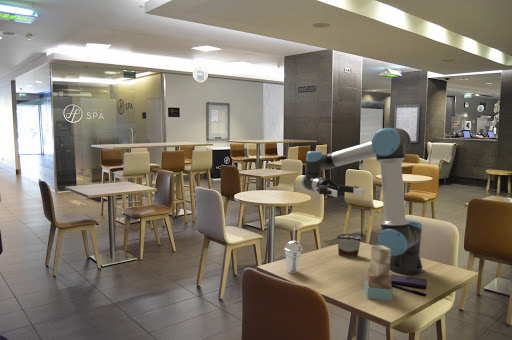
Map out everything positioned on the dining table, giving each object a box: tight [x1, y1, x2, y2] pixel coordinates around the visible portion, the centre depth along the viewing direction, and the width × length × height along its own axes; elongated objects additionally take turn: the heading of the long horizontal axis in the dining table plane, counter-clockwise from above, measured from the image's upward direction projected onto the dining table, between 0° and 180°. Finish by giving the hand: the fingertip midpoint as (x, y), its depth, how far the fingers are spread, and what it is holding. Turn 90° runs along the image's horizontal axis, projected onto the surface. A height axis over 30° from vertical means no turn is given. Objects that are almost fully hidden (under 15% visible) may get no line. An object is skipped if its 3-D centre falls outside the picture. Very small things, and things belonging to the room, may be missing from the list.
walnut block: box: [366, 267, 393, 289], centre depth 154 cm, size 8×8×4 cm
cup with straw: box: [283, 223, 304, 274], centre depth 175 cm, size 8×9×20 cm
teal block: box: [363, 278, 394, 301], centre depth 154 cm, size 9×9×4 cm
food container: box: [336, 233, 362, 258], centre depth 203 cm, size 12×6×10 cm, turn 77°
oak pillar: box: [369, 245, 391, 276], centre depth 153 cm, size 5×5×10 cm
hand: (350, 193), depth 170 cm, fingers open, 13 cm apart
